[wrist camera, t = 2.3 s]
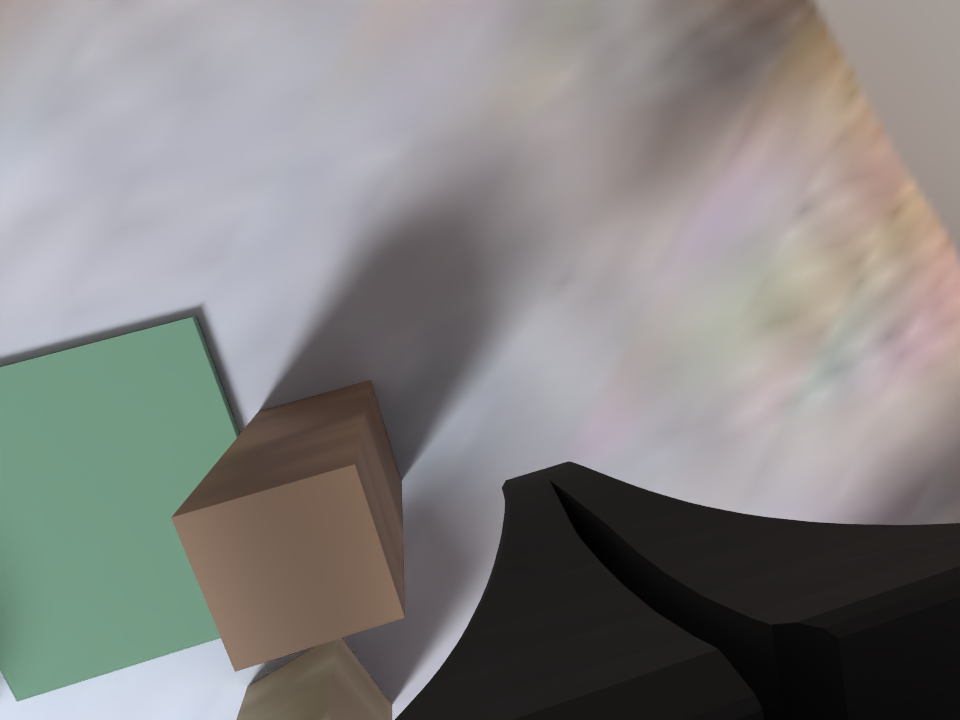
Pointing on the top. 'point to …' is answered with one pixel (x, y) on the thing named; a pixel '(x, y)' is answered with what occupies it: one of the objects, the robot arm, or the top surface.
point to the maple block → (317, 689)
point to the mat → (103, 503)
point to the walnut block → (299, 528)
